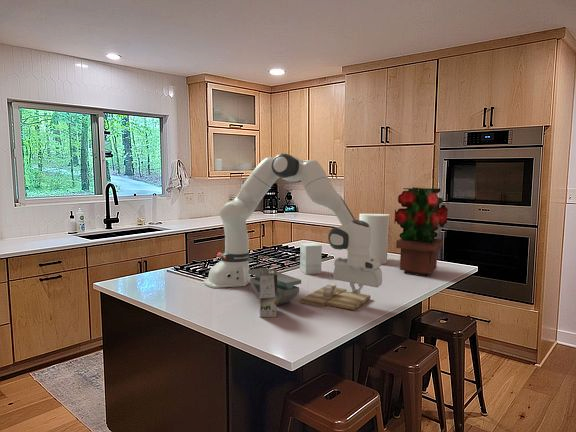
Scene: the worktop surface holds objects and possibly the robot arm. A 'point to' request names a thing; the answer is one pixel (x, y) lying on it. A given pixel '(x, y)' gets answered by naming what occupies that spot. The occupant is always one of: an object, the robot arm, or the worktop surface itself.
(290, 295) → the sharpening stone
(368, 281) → the robot arm
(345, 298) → the plank
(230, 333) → the worktop surface
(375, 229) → the cylinder
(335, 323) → the worktop surface
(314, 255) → the supplement box
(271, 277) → the coffee box
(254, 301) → the worktop surface
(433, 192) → the potted plant
